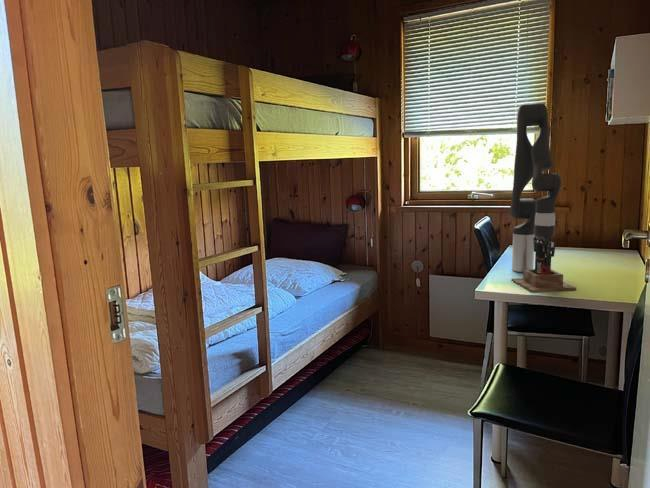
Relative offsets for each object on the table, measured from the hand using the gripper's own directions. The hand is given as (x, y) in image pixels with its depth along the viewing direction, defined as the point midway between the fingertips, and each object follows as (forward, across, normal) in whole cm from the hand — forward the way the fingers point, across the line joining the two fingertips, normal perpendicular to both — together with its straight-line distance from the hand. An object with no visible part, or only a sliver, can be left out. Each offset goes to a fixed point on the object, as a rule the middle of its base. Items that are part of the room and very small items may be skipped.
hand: (543, 264), depth 199 cm
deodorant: (+6, 0, 0) cm, 6 cm away
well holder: (+9, 0, 0) cm, 9 cm away
